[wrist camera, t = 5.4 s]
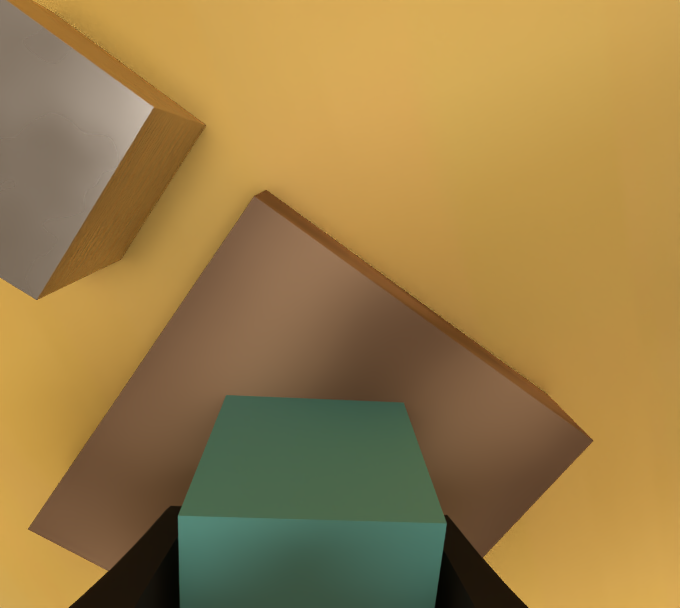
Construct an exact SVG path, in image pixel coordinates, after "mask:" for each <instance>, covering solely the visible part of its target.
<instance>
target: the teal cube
mask: <svg viewBox="0 0 680 608" xmlns="http://www.w3.org/2000/svg"><path fill="white" fill-rule="evenodd" d="M446 526H447V523H446V520H445V517H444V514H443V511H442V509H441V506H440V503H439V500H438V497H437V495H436V492H435V489H434V486H433V483H432V481H431V478H430V475H429V472H428V469H427V467H426V464H425V461H424V458H423V455H422V453H421V450H420V447H419V444H418V441H417V439H416V436H415V433H414V430H413V427H412V425H411V422H410V419H409V416H408V413H407V410H406V408H405V405H404V403H402V402H378V401H355V400H331V399H307V398H284V397H260V396H237V395H226V397H225V399H224V402H223V404H222V407H221V409H220V412H219V414H218V417H217V419H216V422H215V424H214V427H213V429H212V432H211V434H210V437H209V439H208V442H207V444H206V447H205V449H204V452H203V454H202V457H201V459H200V462H199V464H198V467H197V469H196V472H195V474H194V477H193V479H192V482H191V484H190V487H189V489H188V492H187V494H186V497H185V499H184V502H183V504H182V507H181V509H180V512H179V514H178V541H179V586H180V608H435V601H436V595H437V588H438V581H439V574H440V567H441V560H442V553H443V546H444V540H445V533H446Z"/></svg>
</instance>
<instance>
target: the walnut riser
mask: <svg viewBox="0 0 680 608" xmlns="http://www.w3.org/2000/svg"><path fill="white" fill-rule="evenodd" d="M226 395H237V396H260V397H284V398H307V399H331V400H355V401H378V402H402V403H404V405H405V408H406V410H407V413H408V416H409V419H410V422H411V425H412V427H413V430H414V433H415V436H416V439H417V441H418V444H419V447H420V450H421V453H422V455H423V458H424V461H425V464H426V467H427V469H428V472H429V475H430V478H431V481H432V483H433V486H434V489H435V492H436V495H437V497H438V500H439V503H440V506H441V509H442V511H443V514H444V515H448V516H449V517H450V519H451V520H452V521H453V522H454V523H455V525H456V526H457V527H458V528H459V530H460V531H461V532H462V533H463V535H464V536H465V537H466V538H467V540H468V541H469V542H470V543H471V544H472V546H473V547H474V548H475V549H476V550H477V552H478V553H479V554H480V555H481V557H482V558H483V557H484V556H485V555H486V554H487V553H488V551H489V550H490V549H491V548H492V547H493V546H494V545H495V544H496V543H497V542H498V541H499V540H500V539H501V538H502V537H503V536H504V535H505V534H506V532H507V531H508V530H509V529H510V528H511V527H512V526H513V525H514V524H515V523H516V522H517V521H518V520H519V519H520V518H521V517H522V516H523V514H524V513H525V512H526V511H527V510H528V509H529V508H530V507H531V506H532V505H533V504H534V503H535V502H536V501H537V500H538V499H539V498H540V497H541V495H542V494H543V493H544V492H545V491H546V490H547V489H548V488H549V487H550V486H551V485H552V484H553V483H554V482H555V481H556V480H557V479H558V477H559V476H560V475H561V474H562V473H563V472H564V471H565V470H566V469H567V468H568V467H569V466H570V465H571V464H572V463H573V462H574V461H575V459H576V458H577V457H578V456H579V455H580V454H581V453H582V452H583V451H584V450H585V449H586V448H587V447H588V446H589V445H590V444H591V443H592V442H593V440H592V439H591V438H590V437H589V436H588V435H587V434H586V433H585V432H584V431H583V430H582V429H581V428H580V427H579V426H578V425H577V424H576V423H575V422H574V421H573V420H572V419H571V418H570V417H569V416H568V415H567V414H566V413H565V412H564V411H563V410H562V409H561V408H560V407H559V406H558V405H557V404H556V403H555V402H554V401H553V400H552V399H551V398H550V397H549V396H548V395H547V394H546V393H544V392H543V391H542V390H540V389H539V388H537V387H536V386H535V385H533V384H532V383H531V382H529V381H528V380H526V379H525V378H524V377H522V376H521V375H520V374H518V373H517V372H515V371H514V370H513V369H511V368H510V367H509V366H507V365H506V364H504V363H503V362H502V361H500V360H499V359H498V358H496V357H495V356H493V355H492V354H491V353H489V352H488V351H487V350H485V349H484V348H482V347H481V346H480V345H478V344H477V343H476V342H474V341H473V340H471V339H470V338H469V337H467V336H466V335H465V334H463V333H462V332H460V331H459V330H458V329H456V328H455V327H454V326H452V325H451V324H450V323H448V322H447V321H445V320H444V319H443V318H441V317H440V316H439V315H437V314H436V313H434V312H433V311H432V310H430V309H429V308H428V307H426V306H425V305H423V304H422V303H421V302H419V301H418V300H417V299H415V298H414V297H412V296H411V295H410V294H408V293H407V292H406V291H404V290H403V289H401V288H400V287H399V286H397V285H396V284H395V283H393V282H392V281H390V280H389V279H388V278H386V277H385V276H384V275H382V274H381V273H379V272H378V271H377V270H375V269H374V268H373V267H371V266H370V265H368V264H367V263H366V262H364V261H363V260H362V259H360V258H359V257H357V256H356V255H355V254H353V253H352V252H351V251H349V250H348V249H347V248H345V247H344V246H342V245H341V244H340V243H338V242H337V241H336V240H334V239H333V238H331V237H330V236H329V235H327V234H326V233H325V232H323V231H322V230H320V229H319V228H318V227H316V226H315V225H314V224H312V223H311V222H309V221H308V220H307V219H305V218H304V217H303V216H301V215H300V214H298V213H297V212H296V211H294V210H293V209H292V208H290V207H289V206H287V205H286V204H285V203H283V202H282V201H281V200H279V199H278V198H276V197H275V196H274V195H272V194H271V193H270V192H268V191H267V190H266V191H264V192H262V193H260V194H258V195H256V196H254V197H253V199H252V200H251V202H250V203H249V205H248V206H247V208H246V209H245V211H244V212H243V214H242V215H241V216H240V218H239V219H238V221H237V222H236V224H235V225H234V227H233V228H232V230H231V231H230V233H229V234H228V236H227V237H226V239H225V240H224V241H223V243H222V244H221V246H220V247H219V249H218V250H217V252H216V253H215V255H214V256H213V258H212V259H211V261H210V262H209V264H208V265H207V266H206V268H205V269H204V271H203V272H202V274H201V275H200V277H199V278H198V280H197V281H196V283H195V284H194V286H193V287H192V288H191V290H190V291H189V293H188V294H187V296H186V297H185V299H184V300H183V302H182V303H181V305H180V306H179V308H178V309H177V311H176V312H175V313H174V315H173V316H172V318H171V319H170V321H169V322H168V324H167V325H166V327H165V328H164V330H163V331H162V333H161V334H160V336H159V337H158V338H157V340H156V341H155V343H154V344H153V346H152V347H151V349H150V350H149V352H148V353H147V355H146V356H145V358H144V359H143V361H142V362H141V363H140V365H139V366H138V368H137V369H136V371H135V372H134V374H133V375H132V377H131V378H130V380H129V381H128V383H127V384H126V386H125V387H124V388H123V390H122V391H121V393H120V394H119V396H118V397H117V399H116V400H115V402H114V403H113V405H112V406H111V408H110V409H109V411H108V412H107V413H106V415H105V416H104V418H103V419H102V421H101V422H100V424H99V425H98V427H97V428H96V430H95V431H94V433H93V434H92V435H91V437H90V438H89V440H88V441H87V443H86V444H85V446H84V447H83V449H82V450H81V452H80V453H79V455H78V456H77V458H76V459H75V460H74V462H73V463H72V465H71V466H70V468H69V469H68V471H67V472H66V474H65V475H64V477H63V478H62V480H61V481H60V483H59V484H58V485H57V487H56V488H55V490H54V491H53V493H52V494H51V496H50V497H49V499H48V500H47V502H46V503H45V505H44V506H43V508H42V509H41V510H40V512H39V513H38V515H37V516H36V518H35V519H34V521H33V522H32V524H31V525H30V527H29V528H28V530H30V531H32V532H34V533H36V534H38V535H40V536H42V537H44V538H46V539H48V540H50V541H52V542H54V543H55V544H57V545H59V546H61V547H63V548H65V549H67V550H69V551H71V552H73V553H75V554H77V555H79V556H81V557H83V558H84V559H86V560H88V561H90V562H92V563H94V564H96V565H98V566H100V567H102V568H104V569H106V570H108V571H109V570H110V569H111V568H112V567H113V566H114V565H115V564H116V563H117V562H118V561H119V560H120V559H121V558H122V557H123V556H124V555H125V554H126V553H127V552H128V551H129V550H130V549H131V548H132V547H133V546H134V545H135V543H136V542H137V541H138V540H139V539H140V538H141V537H142V536H143V535H144V534H145V533H146V531H147V530H148V529H149V528H150V527H151V526H152V525H153V524H154V523H155V521H156V520H157V519H158V518H159V517H160V516H161V515H162V513H163V512H164V511H165V510H166V509H167V508H168V507H170V506H182V504H183V502H184V499H185V497H186V494H187V492H188V489H189V487H190V484H191V482H192V479H193V477H194V474H195V472H196V469H197V467H198V464H199V462H200V459H201V457H202V454H203V452H204V449H205V447H206V444H207V442H208V439H209V437H210V434H211V432H212V429H213V427H214V424H215V422H216V419H217V417H218V414H219V412H220V409H221V407H222V404H223V402H224V399H225V397H226Z"/></svg>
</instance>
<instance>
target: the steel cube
mask: <svg viewBox="0 0 680 608" xmlns="http://www.w3.org/2000/svg"><path fill="white" fill-rule="evenodd" d="M205 126H206V125H205V124H204V123H202V122H201V121H200V120H198V119H197V118H196V117H194V116H193V115H192V114H190V113H189V112H187V111H186V110H185V109H183V108H182V107H181V106H179V105H178V104H177V103H175V102H174V101H173V100H171V99H170V98H168V97H167V96H166V95H164V94H163V93H162V92H160V91H159V90H158V89H156V88H155V87H154V86H152V85H151V84H149V83H148V82H147V81H145V80H144V79H143V78H141V77H140V76H139V75H137V74H136V73H135V72H133V71H132V70H130V69H129V68H128V67H126V66H125V65H124V64H122V63H121V62H120V61H118V60H117V59H116V58H114V57H113V56H111V55H110V54H109V53H107V52H106V51H105V50H103V49H102V48H101V47H99V46H98V45H97V44H95V43H94V42H92V41H91V40H90V39H88V38H87V37H86V36H84V35H83V34H82V33H80V32H79V31H78V30H76V29H75V28H73V27H72V26H71V25H69V24H68V23H67V22H65V21H64V20H63V19H61V18H60V17H59V16H57V15H56V14H54V13H53V12H51V11H50V10H48V9H46V8H44V7H43V6H41V5H39V4H37V3H36V2H34V1H32V0H0V278H2V279H3V280H5V281H7V282H8V283H10V284H12V285H13V286H15V287H16V288H18V289H20V290H21V291H23V292H25V293H26V294H28V295H29V296H31V297H33V298H34V299H36V300H38V299H40V298H42V297H44V296H46V295H48V294H50V293H52V292H54V291H56V290H58V289H60V288H63V287H65V286H67V285H69V284H71V283H73V282H75V281H77V280H79V279H81V278H83V277H85V276H87V275H89V274H92V273H94V272H96V271H98V270H100V269H102V268H104V267H106V266H108V265H110V264H112V263H114V262H116V261H119V260H121V258H122V257H123V255H124V253H125V252H126V250H127V249H128V247H129V246H130V244H131V242H132V241H133V239H134V238H135V236H136V235H137V233H138V231H139V230H140V228H141V227H142V225H143V224H144V222H145V220H146V219H147V217H148V216H149V214H150V213H151V211H152V209H153V208H154V206H155V205H156V203H157V201H158V200H159V198H160V197H161V195H162V194H163V192H164V190H165V189H166V187H167V186H168V184H169V183H170V181H171V179H172V178H173V176H174V175H175V173H176V172H177V170H178V168H179V167H180V165H181V164H182V162H183V161H184V159H185V157H186V156H187V154H188V153H189V151H190V150H191V148H192V146H193V145H194V143H195V142H196V140H197V139H198V137H199V135H200V134H201V132H202V131H203V129H204V128H205Z"/></svg>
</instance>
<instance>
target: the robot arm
mask: <svg viewBox="0 0 680 608" xmlns="http://www.w3.org/2000/svg"><path fill="white" fill-rule="evenodd" d="M181 507H182V506H170V507H168V508H167V509H166V510H165V511H164V512H163V513H162V515H161V516H160V517H159V518H158V519H157V520H156V521H155V523H154V524H153V525H152V526H151V527H150V528H149V529H148V530H147V531H146V533H145V534H144V535H143V536H142V537H141V538H140V539H139V540H138V541H137V542H136V543H135V545H134V546H133V547H132V548H131V549H130V550H129V551H128V552H127V553H126V554H125V555H124V556H123V557H122V558H121V559H120V560H119V561H118V562H117V563H116V564H115V565H114V566H113V567H112V568H111V569H110V570H109V571H108V572H107V573H106V574H105V575H104V576H103V577H102V578H101V579H100V580H99V581H97V582H96V583H95V584H94V585H93V586H92V587H91V588H90V589H89V590H88V591H87V592H86V593H85V594H84V595H82V596H81V597H80V598H79V599H78V600H77V601H76V602H75V603H73V604H72V605H71V606H70V607H69V608H180V586H179V541H178V514H179V512H180V509H181ZM444 517H445V520H446V523H447V526H446V533H445V540H444V546H443V553H442V560H441V567H440V574H439V581H438V588H437V595H436V601H435V608H528V607H527V606H526V605H525V604H524V603H523V602H522V601H521V600H520V599H519V598H518V597H517V596H516V595H515V593H514V592H513V591H512V590H511V589H510V588H509V587H508V586H507V585H506V584H505V583H504V582H503V581H502V579H501V578H500V577H499V576H498V575H497V574H496V573H495V572H494V570H493V569H492V568H491V567H490V566H489V565H488V564H487V562H486V561H485V560H484V559H483V558H482V557H481V555H480V554H479V553H478V552H477V550H476V549H475V548H474V547H473V546H472V544H471V543H470V542H469V541H468V540H467V538H466V537H465V536H464V535H463V533H462V532H461V531H460V530H459V528H458V527H457V526H456V525H455V523H454V522H453V521H452V520H451V519H450V517H449V516H448V515H444Z"/></svg>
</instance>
